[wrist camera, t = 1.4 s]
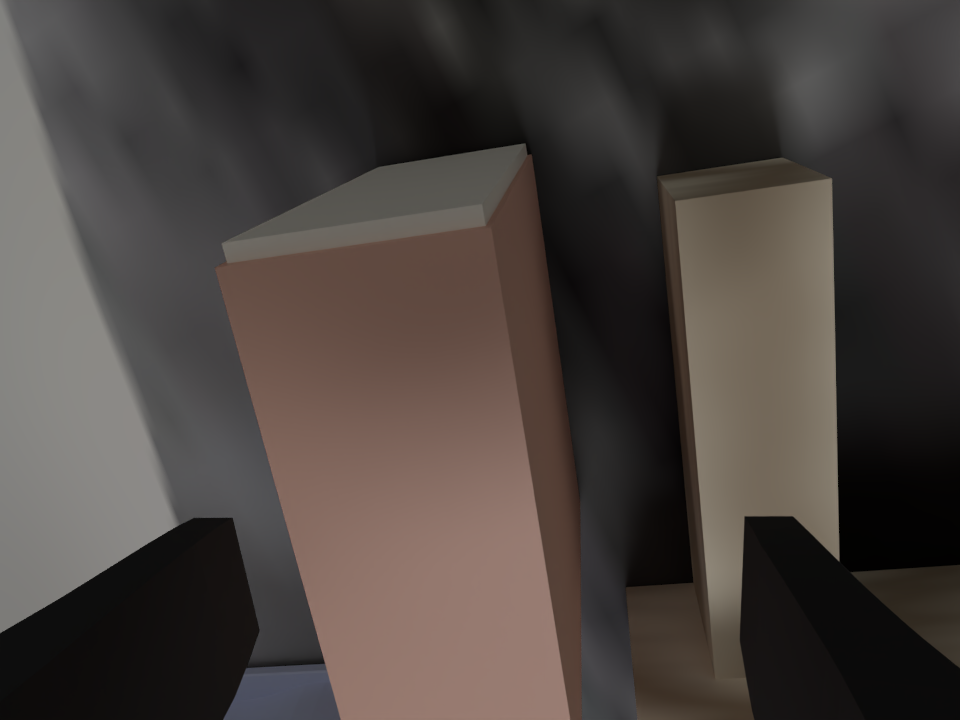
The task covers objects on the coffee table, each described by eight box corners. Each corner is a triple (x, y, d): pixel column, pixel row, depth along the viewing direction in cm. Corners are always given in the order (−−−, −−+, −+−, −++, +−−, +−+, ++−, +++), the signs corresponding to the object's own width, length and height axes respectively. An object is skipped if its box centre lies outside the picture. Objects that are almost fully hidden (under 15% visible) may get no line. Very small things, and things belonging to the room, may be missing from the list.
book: (447, 513, 24) (362, 798, 14) (376, 166, 20) (208, 247, 11) (580, 501, 23) (582, 793, 14) (529, 141, 20) (487, 205, 10)
